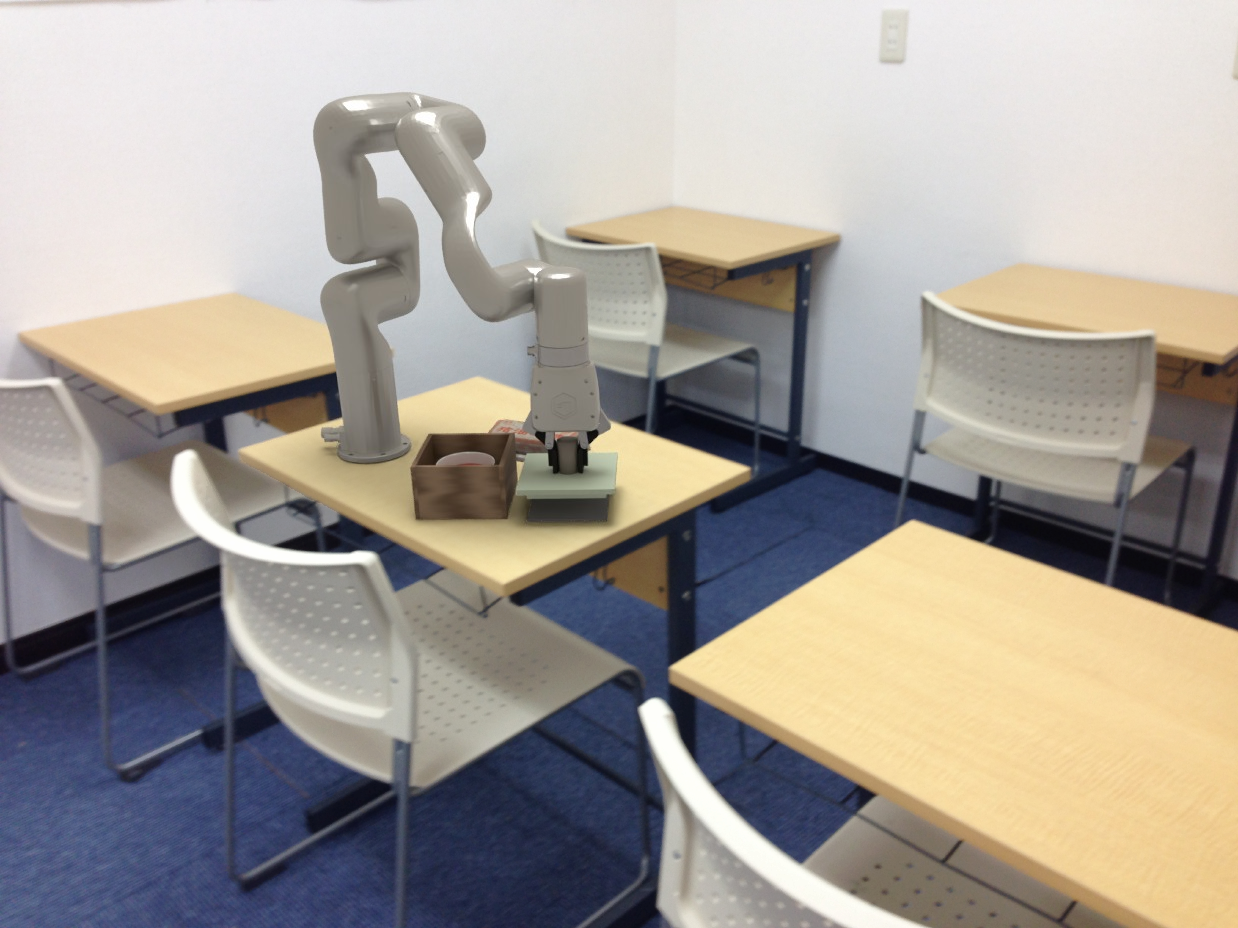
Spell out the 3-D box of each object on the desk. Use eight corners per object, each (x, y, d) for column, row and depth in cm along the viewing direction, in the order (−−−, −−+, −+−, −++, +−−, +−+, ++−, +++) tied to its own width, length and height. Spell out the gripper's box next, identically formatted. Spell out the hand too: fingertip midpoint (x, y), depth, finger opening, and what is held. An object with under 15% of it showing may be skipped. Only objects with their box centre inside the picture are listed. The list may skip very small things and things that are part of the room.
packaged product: (591, 424, 180) (565, 444, 172) (592, 450, 182) (566, 471, 174) (501, 411, 187) (471, 430, 179) (503, 436, 189) (474, 456, 181)
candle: (467, 517, 157) (464, 479, 155) (427, 502, 162) (423, 465, 160) (509, 497, 163) (507, 460, 161) (469, 483, 169) (466, 447, 166)
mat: (526, 521, 155) (526, 519, 155) (535, 488, 166) (534, 486, 166) (607, 521, 155) (607, 518, 155) (610, 488, 166) (610, 485, 166)
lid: (516, 502, 152) (513, 458, 150) (527, 465, 166) (524, 423, 163) (614, 501, 152) (613, 457, 149) (617, 464, 165) (616, 422, 163)
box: (415, 519, 157) (410, 467, 153) (433, 482, 169) (428, 433, 166) (506, 518, 156) (503, 466, 153) (517, 481, 169) (514, 432, 166)
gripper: (503, 362, 148) (511, 480, 155) (619, 360, 147) (622, 479, 154) (510, 347, 155) (517, 461, 162) (620, 345, 154) (623, 460, 161)
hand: (568, 469), depth 158 cm, fingers closed on lid, 3 cm apart
